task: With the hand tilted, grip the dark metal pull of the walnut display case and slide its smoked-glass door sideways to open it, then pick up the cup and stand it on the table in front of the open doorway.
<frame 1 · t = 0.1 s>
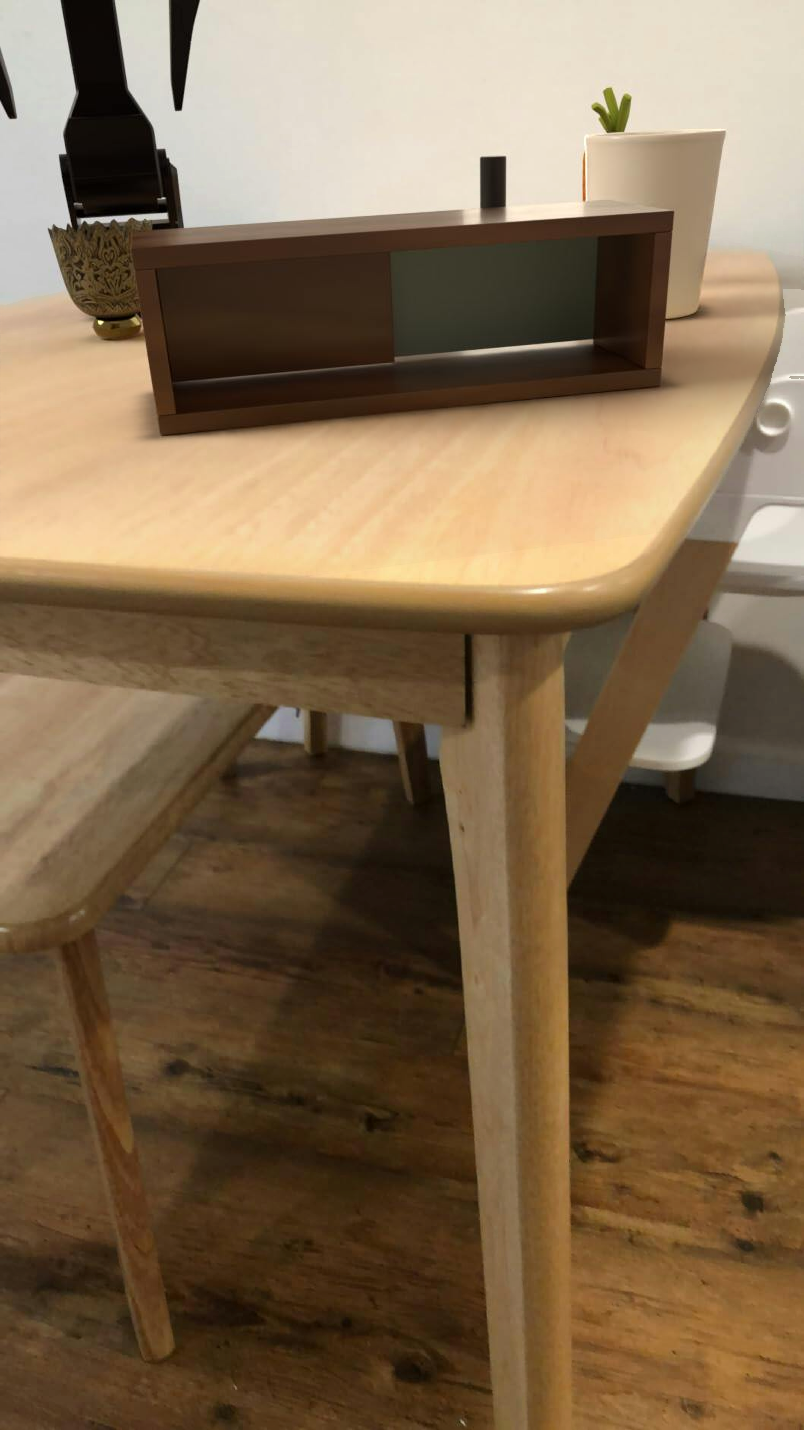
hand: (96, 114, 59), 15 cm above the table, tool pointing down, fingers open, 9 cm apart
carrot: (606, 290, 91), on the table
white plant pot: (641, 313, 80), on the table
display case: (404, 393, 60), on the table
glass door: (486, 252, 64), point 6 cm above the table, slide at 0.0 cm
cup: (119, 338, 80), on the table
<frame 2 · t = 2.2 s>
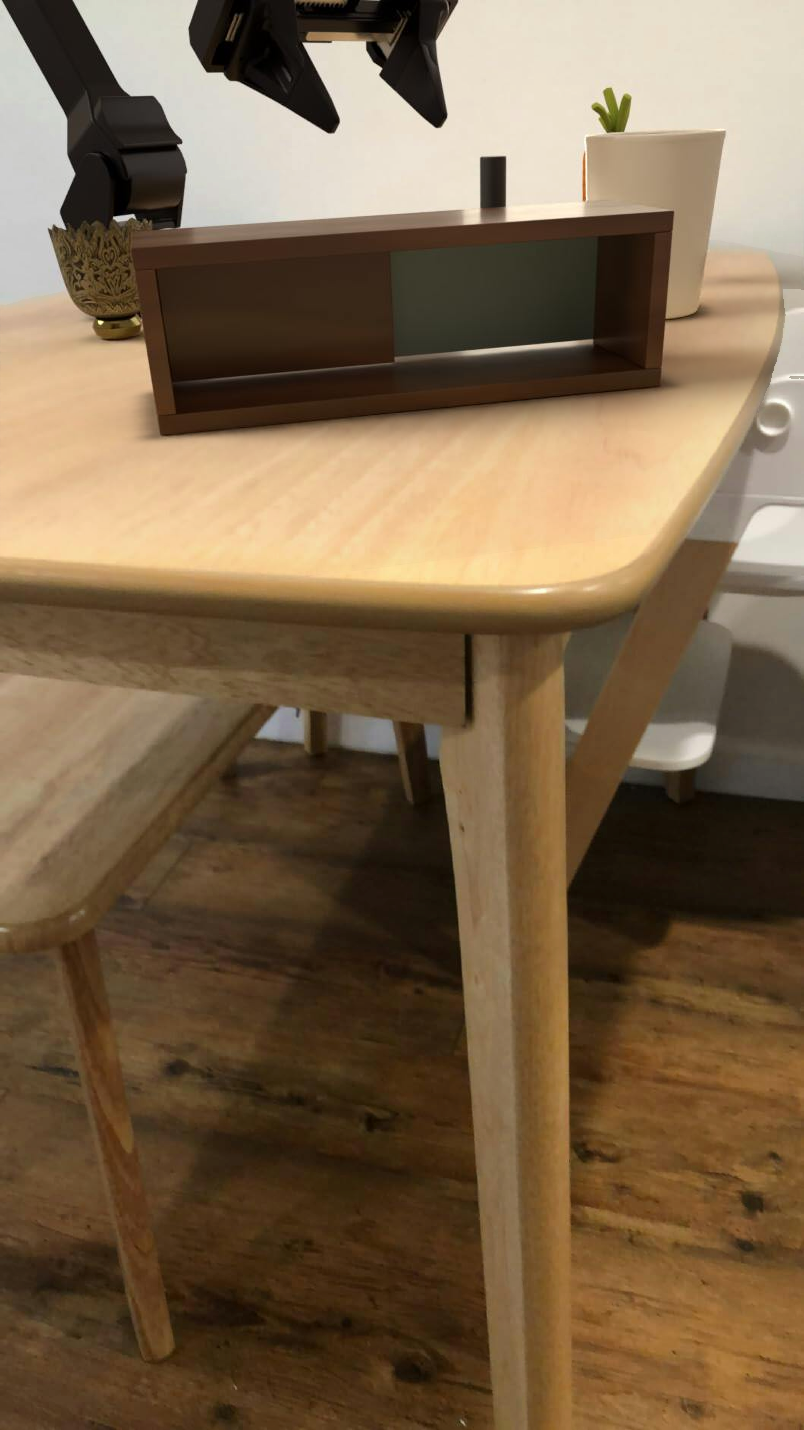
hand: (391, 125, 67), 13 cm above the table, tool tilted 45°, fingers open, 9 cm apart
nothing on the table moved.
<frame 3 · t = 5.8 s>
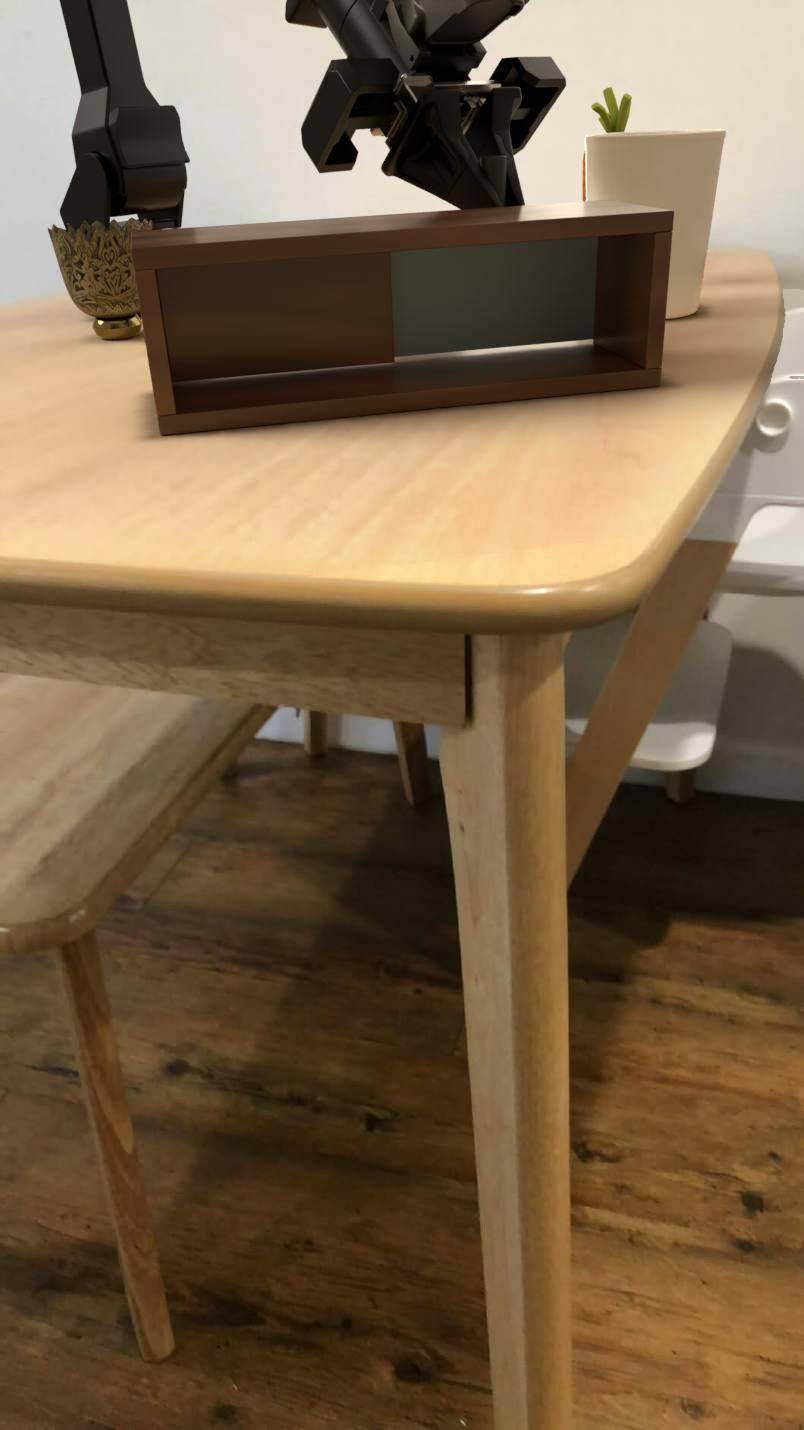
hand: (509, 218, 64), 8 cm above the table, tool tilted 45°, fingers closed on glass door, 2 cm apart
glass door: (486, 252, 64), point 6 cm above the table, slide at 0.0 cm, touching gripper
everything else where it was.
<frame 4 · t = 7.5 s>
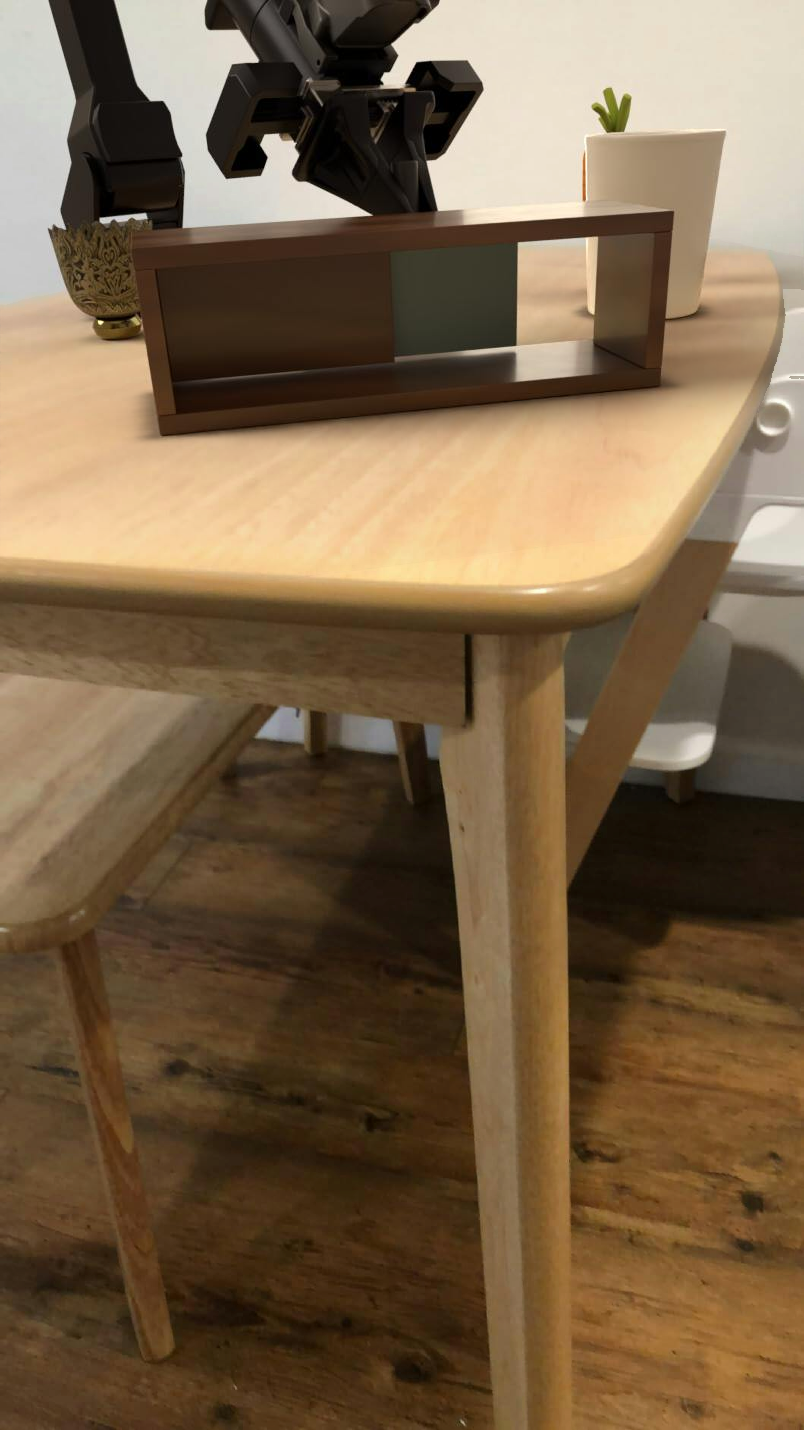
hand: (422, 224, 63), 8 cm above the table, tool tilted 45°, fingers closed on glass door, 2 cm apart
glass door: (398, 259, 63), point 6 cm above the table, slide at 5.5 cm, touching gripper
everything else where it was.
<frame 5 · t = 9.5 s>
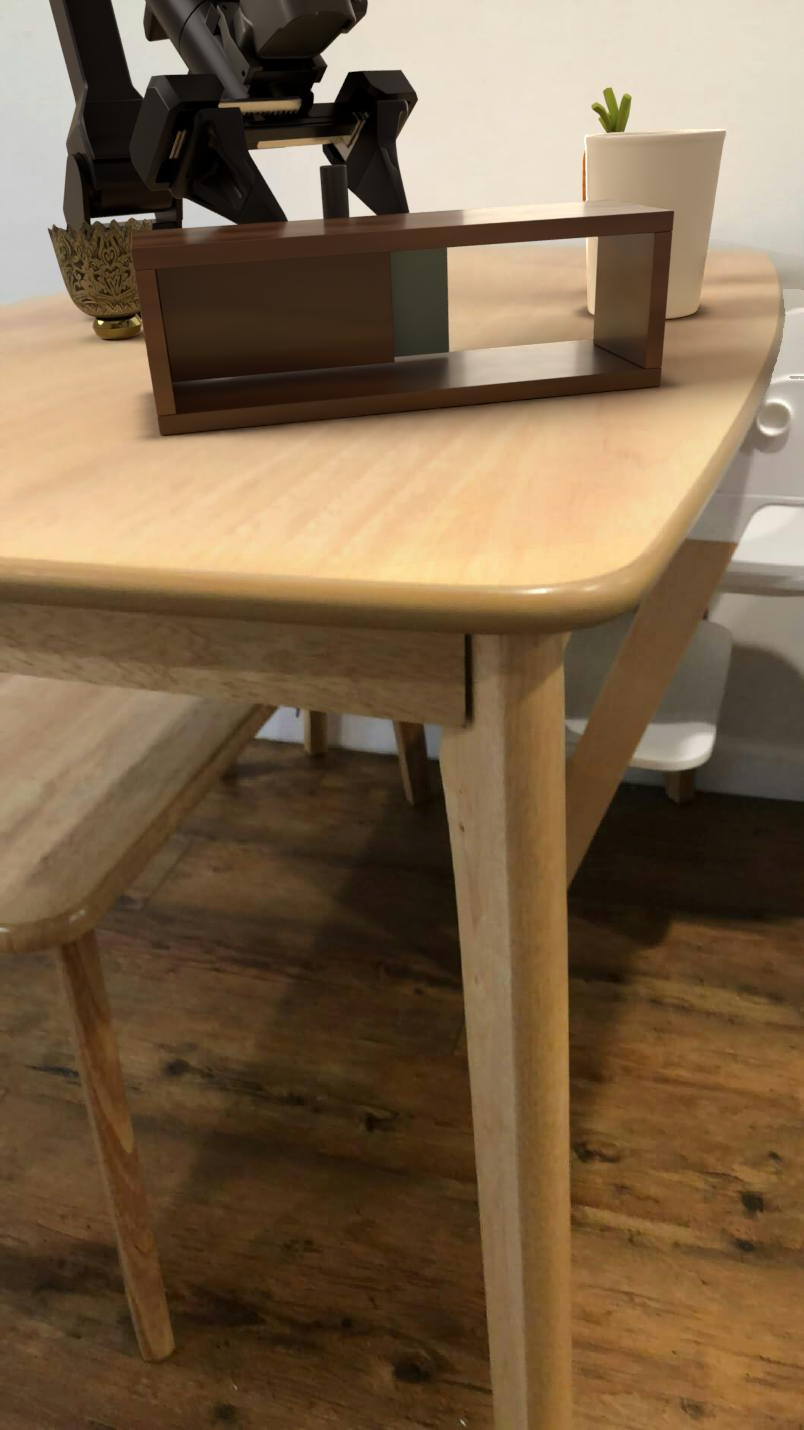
hand: (351, 236, 63), 8 cm above the table, tool tilted 45°, fingers open, 9 cm apart
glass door: (328, 264, 62), point 6 cm above the table, slide at 9.9 cm
everything else where it was.
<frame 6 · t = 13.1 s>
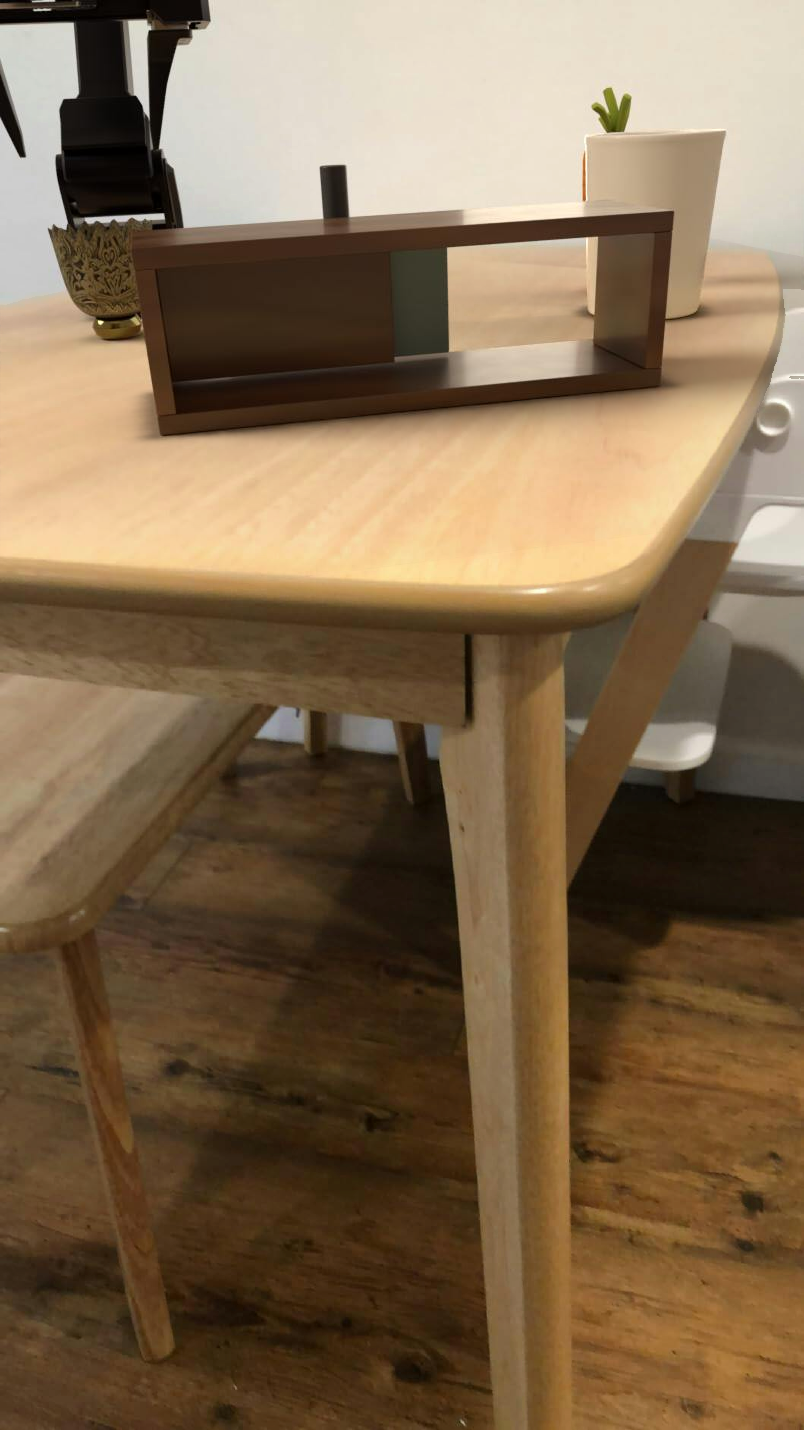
hand: (90, 153, 74), 12 cm above the table, tool pointing down, fingers open, 9 cm apart
nothing on the table moved.
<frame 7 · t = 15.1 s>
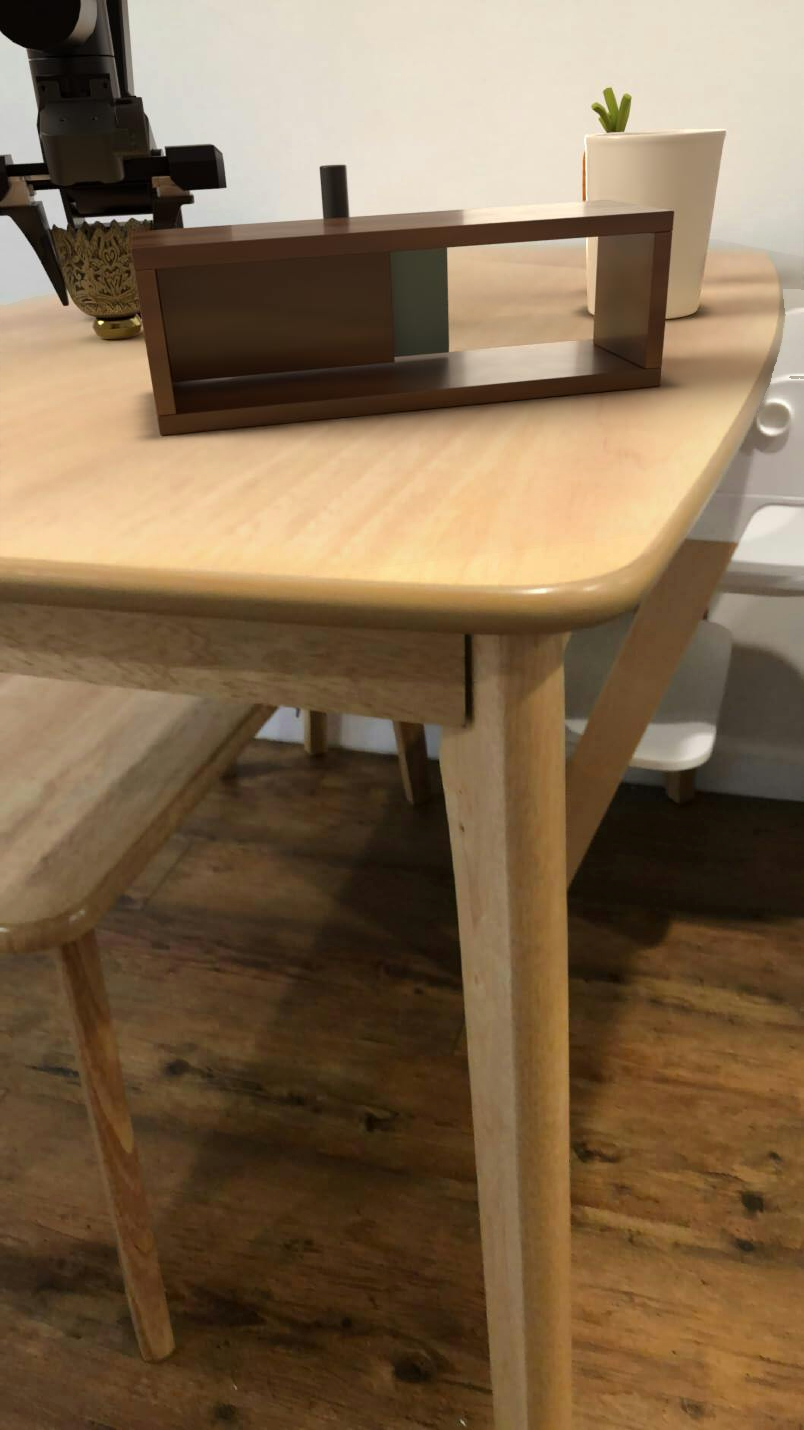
hand: (113, 301, 79), 3 cm above the table, tool pointing down, fingers closed on cup, 7 cm apart
cup: (119, 339, 80), on the table, touching gripper
everything else where it was.
when the fingers open (2 cm above the table, at t = 21.9 s): cup stays where it is, on the table.
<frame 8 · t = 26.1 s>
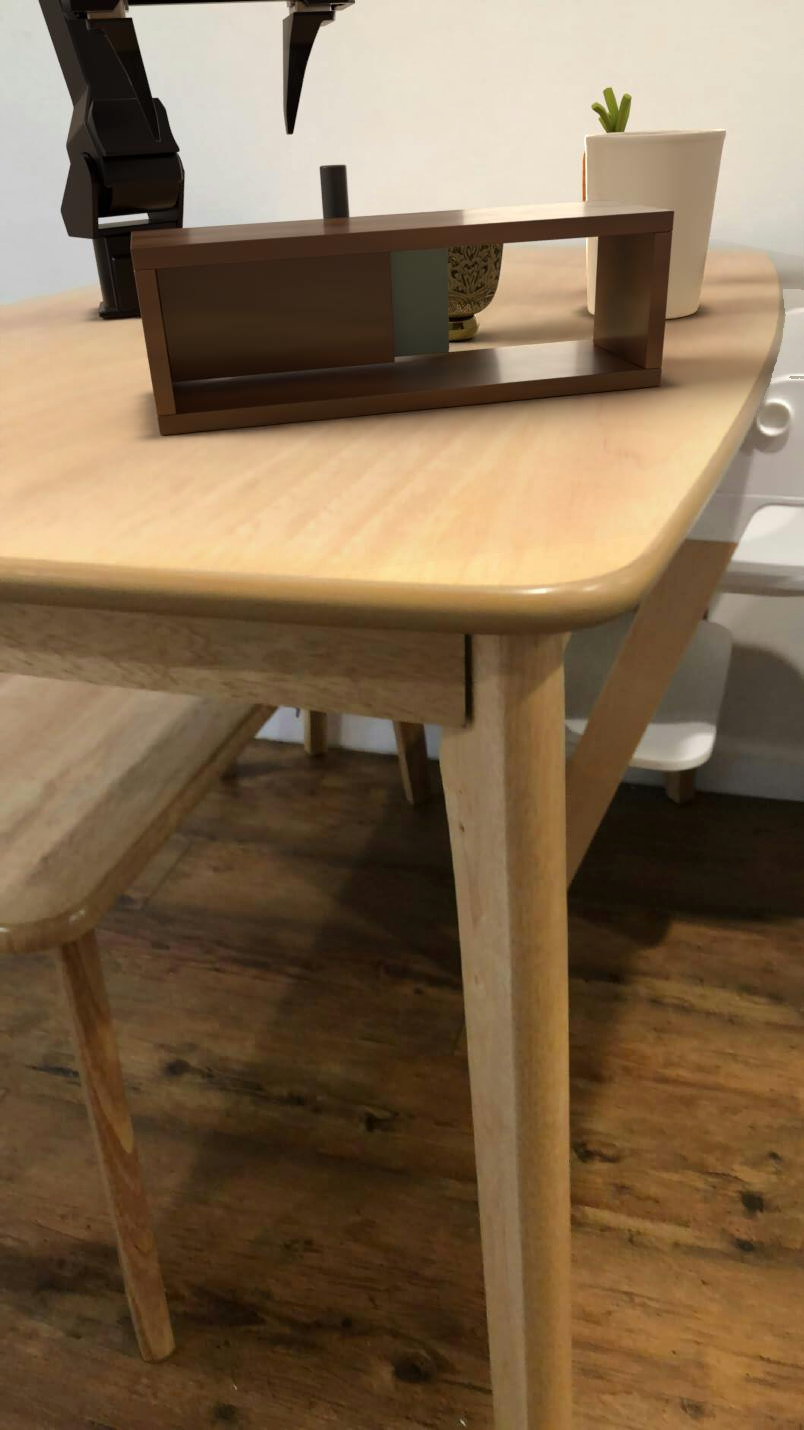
hand: (224, 137, 73), 13 cm above the table, tool pointing down, fingers open, 9 cm apart
cup: (453, 340, 74), on the table
everything else where it was.
at the end: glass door slide at 9.9 cm; cup inside the target area on the table beside the display case (0.1 cm from its centre), on the table; cup tilted 0° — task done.
